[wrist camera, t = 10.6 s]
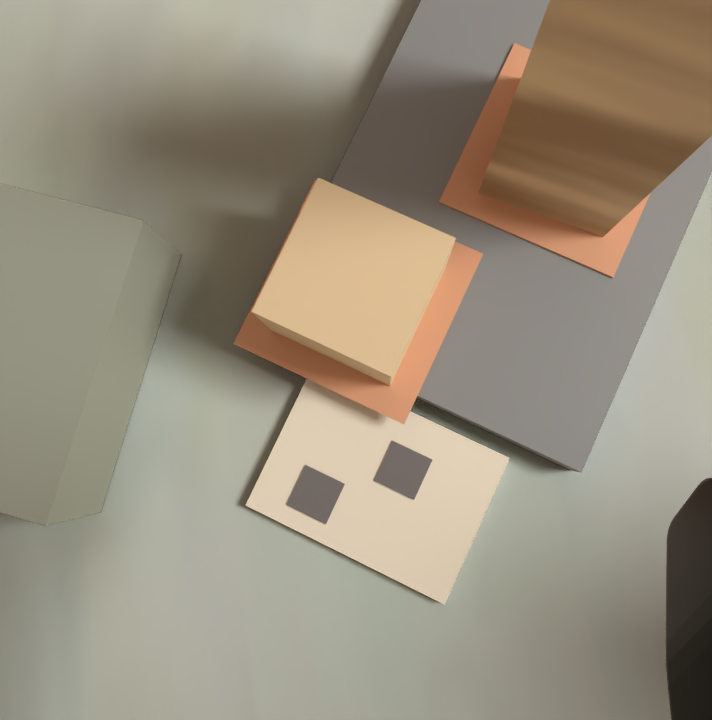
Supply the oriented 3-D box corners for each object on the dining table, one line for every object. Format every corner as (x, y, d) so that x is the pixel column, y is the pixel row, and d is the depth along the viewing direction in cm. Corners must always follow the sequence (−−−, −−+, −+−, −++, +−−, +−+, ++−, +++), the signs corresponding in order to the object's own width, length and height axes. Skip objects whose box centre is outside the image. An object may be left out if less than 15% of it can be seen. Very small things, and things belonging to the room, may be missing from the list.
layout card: (443, 602, 20) (444, 605, 20) (247, 504, 21) (244, 505, 21) (508, 457, 21) (510, 458, 21) (313, 366, 22) (312, 365, 21)
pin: (603, 237, 21) (970, -107, 8) (477, 192, 21) (626, -206, 8) (645, 119, 21) (1060, -395, 8) (521, 78, 21) (730, -477, 8)
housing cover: (100, 512, 21) (45, 526, 18) (-94, 454, 22) (-184, 457, 18) (181, 254, 22) (143, 220, 19) (-7, 205, 23) (-77, 163, 19)
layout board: (559, 499, 21) (602, 513, 17) (241, 348, 22) (207, 327, 18) (735, 95, 22) (814, 17, 18) (427, -28, 23) (436, -128, 19)
